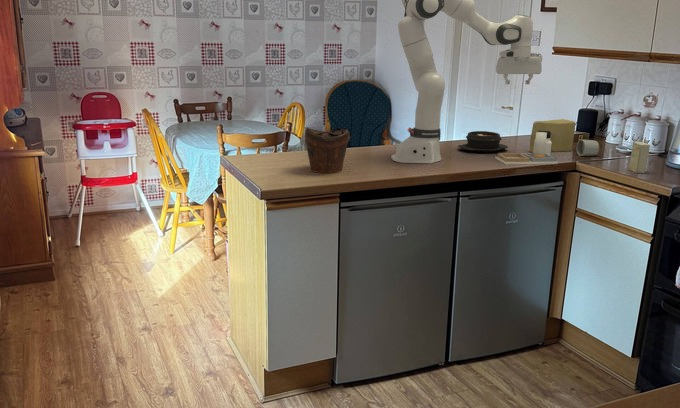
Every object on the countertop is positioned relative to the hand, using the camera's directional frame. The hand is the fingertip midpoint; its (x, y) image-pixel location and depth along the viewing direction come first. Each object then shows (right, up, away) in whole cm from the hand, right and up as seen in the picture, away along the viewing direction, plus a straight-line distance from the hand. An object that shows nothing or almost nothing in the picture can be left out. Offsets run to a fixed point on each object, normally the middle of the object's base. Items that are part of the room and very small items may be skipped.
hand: (517, 84), depth 278 cm
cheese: (+22, -28, +23) cm, 42 cm away
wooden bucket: (-86, -40, -23) cm, 97 cm away
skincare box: (+45, -41, -18) cm, 64 cm away
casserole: (-11, -28, +22) cm, 37 cm away
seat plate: (+4, -35, -1) cm, 35 cm away
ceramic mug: (+36, -31, +14) cm, 50 cm away
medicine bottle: (+15, -32, +11) cm, 37 cm away
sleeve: (+9, -34, -1) cm, 35 cm away
